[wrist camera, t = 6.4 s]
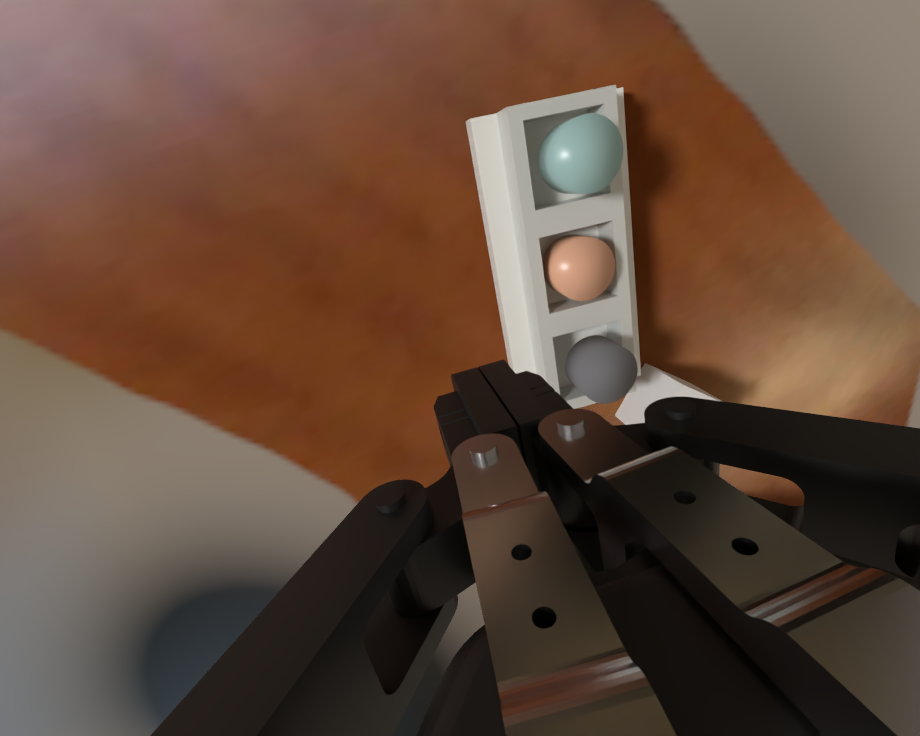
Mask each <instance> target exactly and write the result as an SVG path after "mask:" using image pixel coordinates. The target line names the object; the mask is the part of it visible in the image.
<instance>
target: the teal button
mask: <svg viewBox="0 0 920 736" xmlns="http://www.w3.org/2000/svg"><path fill="white" fill-rule="evenodd" d="M622 159H623V141H622V137H621V134H620V132H619V130H618V128H617V127H616V125H615V124H614V123H613V122H612V121H611V120H610V119H609V118H607V117H605V116H603V115H600V114H596V113H588V114H583V115H580V116H578V117H575V118H572V119H569V120H567V121H564V122H561V123H559V124H557V125H556V126H554V127H553V128H552V129H551V130H550V131H549V132H548V133H547V135H546V136H545V138H544V139H543V141H542V144H541V146H540V150H539V158H538V162H539V169H540V172H541V175H542V177H543V179H544V181H545V182H546V183H547V185H548V186H549V187H550V188H552V189H553V190H555V191H557V192H559V193H564V194H589V193H594V192H597V191H600V190H602V189H603V188H605V187H606V186H607V185H609V184H610V183H611V181H612V180H613V179H614V178H615V176H616V175H617V173H618V171H619V169H620V166H621V163H622Z"/></svg>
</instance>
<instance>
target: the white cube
mask: <svg viewBox="0 0 920 736" xmlns="http://www.w3.org/2000/svg"><path fill="white" fill-rule="evenodd" d="M636 390H637V391H636V392H632V393H629V394H627V395H626V397H625V399H624V400H623V402H622V404H621V406H620V407H619V409H618V411H617V413H616V414H615V416H616V417H617V418H618V419H620V420H621V421H622V422H623V423H624V424H625V425H629V424H638V423H645V419H644V412H645V409H646V408H647V407H648V405H650V404H651V403H653V402H655V401H657V400H660V399H663V398H668V397H693V398H701V399H708V400H715V401H722V400H720V399H718V398H716V397H715V396H713V395H711V394H709V393H707V392H706V391H704V390H702V389H700V388H698V387H697V386H695V385H693V384H691V383H689V382H687V381H685V380H683V379H680V378H678V377H676V376H674V375H671V374H669V373H667V372H665V371H662V370H660V369H658V368H656V367H653V366H651V365H649V364H647V363H645V364H644V366H643V367H642V369H641V375H640V376H637V378H636ZM722 402H723V401H722Z"/></svg>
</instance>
